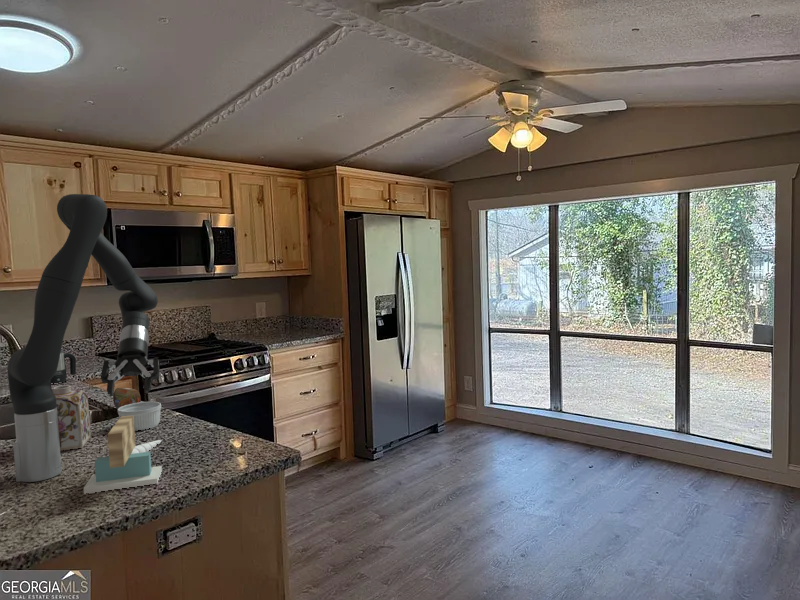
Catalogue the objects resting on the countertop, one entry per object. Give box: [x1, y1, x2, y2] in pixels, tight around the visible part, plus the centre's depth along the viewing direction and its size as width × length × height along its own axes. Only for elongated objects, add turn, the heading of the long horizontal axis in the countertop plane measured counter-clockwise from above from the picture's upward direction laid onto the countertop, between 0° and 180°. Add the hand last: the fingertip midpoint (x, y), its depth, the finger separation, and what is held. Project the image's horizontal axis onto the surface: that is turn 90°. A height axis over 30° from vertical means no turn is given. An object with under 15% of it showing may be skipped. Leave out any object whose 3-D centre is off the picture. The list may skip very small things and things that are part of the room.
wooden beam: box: [107, 415, 137, 468], centre depth 138 cm, size 16×3×8 cm, turn 16°
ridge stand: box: [83, 451, 163, 495], centre depth 138 cm, size 16×9×6 cm, turn 106°
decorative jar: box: [52, 384, 92, 452], centre depth 169 cm, size 12×12×18 cm
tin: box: [112, 386, 142, 410], centre depth 209 cm, size 15×3×8 cm, turn 55°
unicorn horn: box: [131, 439, 163, 454], centre depth 159 cm, size 5×24×5 cm, turn 171°
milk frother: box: [50, 350, 77, 383], centre depth 268 cm, size 14×16×15 cm
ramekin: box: [117, 401, 162, 432], centre depth 187 cm, size 13×13×7 cm
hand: (128, 393), depth 149 cm, fingers open, 8 cm apart
